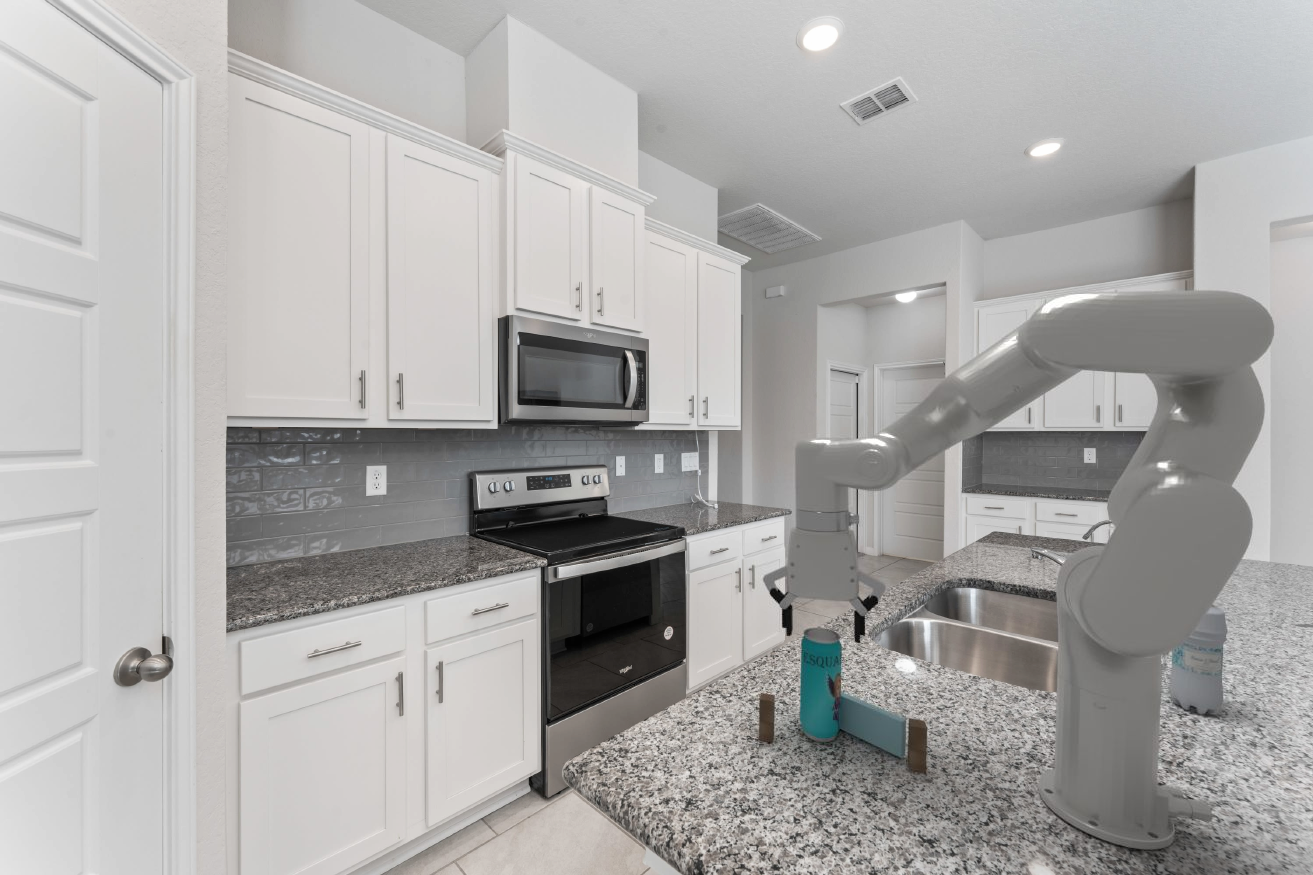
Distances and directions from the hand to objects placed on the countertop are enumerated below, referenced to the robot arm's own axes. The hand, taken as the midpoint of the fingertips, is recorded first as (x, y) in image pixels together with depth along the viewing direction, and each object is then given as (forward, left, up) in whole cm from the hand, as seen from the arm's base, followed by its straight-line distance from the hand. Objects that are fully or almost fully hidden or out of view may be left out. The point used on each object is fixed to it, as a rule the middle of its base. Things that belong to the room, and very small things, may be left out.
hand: (822, 636), depth 81 cm
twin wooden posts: (-2, +4, -14) cm, 15 cm away
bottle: (-58, -28, -15) cm, 66 cm away
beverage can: (0, 0, -15) cm, 15 cm away
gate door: (-4, -1, -14) cm, 15 cm away
